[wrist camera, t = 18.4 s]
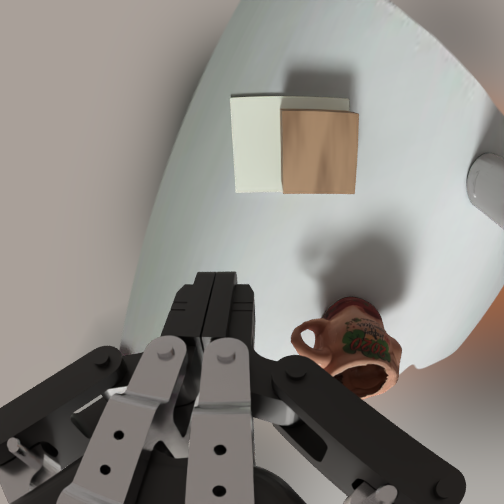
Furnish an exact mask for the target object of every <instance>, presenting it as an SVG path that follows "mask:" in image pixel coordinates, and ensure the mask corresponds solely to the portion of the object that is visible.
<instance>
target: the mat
mask: <svg viewBox="0 0 504 504" xmlns="http://www.w3.org/2000/svg"><path fill="white" fill-rule="evenodd" d="M230 104H231V121H232V138H233V155H234V171H235V187H236V193H248V192H283V189H282V183H281V142H280V109H326V110H344V111H349V99H346V98H331V97H308V96H260V97H237V98H230Z"/></svg>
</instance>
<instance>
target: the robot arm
mask: <svg viewBox="0 0 504 504" xmlns="http://www.w3.org/2000/svg"><path fill="white" fill-rule="evenodd" d="M467 193H468V197H469V199H470V201H471V203H472V204H473V205H474V206H475V207H476V208H478V209H479V210H480V211H482V212H483V213H484V214H485V215H487V216H488V217H489V218H490V219H491V220H493V221H494V222H495V223H496V224H498V225H499V226H500V227H501V228H503V229H504V158H502V157H500V156H498V155H495V154H492V153H486V154H483V155H481V156H480V157H479V158H477V160H476V161H475V162H474V163H473V165H472V167H471V169H470V171H469V174H468V179H467ZM254 339H255V304H254V292H253V290H252V289H251V287H250V285H249V284H237V274H236V272H198V273H197V275H196V278H195V281H194V284H193V285H191V284H185V285H184V286H183V287H182V288H181V289H180V290H179V291H178V292H177V293H176V296H175V299H174V301H173V304H172V306H171V311H170V312H169V314H168V317H167V320H166V323H165V325H164V328H163V331H162V333H161V336H160V337H158V338H156V339H154V340H152V341H151V342H150V343H149V344H148V345H147V347H146V348H145V351H144V352H142V353H138V354H132V355H126V356H122V355H121V353H120V351H119V350H118V349H117V348H115V347H112V346H102V347H99V348H96V349H94V350H93V351H91V352H89V353H88V354H86V355H85V356H83V357H81V358H80V359H78V360H77V361H75V362H73V363H72V364H70V365H69V366H67V367H65V368H64V369H62V370H61V371H59V372H57V373H56V374H54V375H53V376H51V377H49V378H48V379H46V380H45V381H43V382H41V383H40V384H38V385H37V386H35V387H33V388H32V389H30V390H28V391H27V392H25V393H24V394H22V395H21V396H19V397H17V398H16V399H14V400H12V401H11V402H9V403H8V404H6V405H4V406H3V407H1V408H0V484H1V487H2V489H3V492H4V494H5V496H6V498H7V501H8V503H9V504H306V503H305V502H304V501H303V499H301V497H299V495H298V494H297V493H296V492H295V491H294V490H293V489H292V488H291V487H290V486H289V485H288V484H287V483H286V482H285V481H284V480H283V479H281V478H280V477H279V476H277V475H275V474H274V473H272V472H270V471H268V470H266V469H264V468H261V467H258V466H256V459H255V443H254V423H253V417H255V418H258V419H261V420H264V421H268V422H271V423H272V424H273V426H274V427H275V428H276V429H277V430H278V431H279V432H280V434H282V436H284V438H285V439H286V440H287V441H288V442H289V443H290V444H291V445H292V446H294V447H295V448H296V449H297V450H298V451H299V452H300V453H301V454H302V455H303V456H304V457H305V458H306V459H307V460H308V461H309V462H310V463H311V464H312V465H313V466H314V467H315V468H317V469H318V470H319V471H320V472H321V473H322V474H323V475H324V476H325V477H326V478H328V479H329V480H330V481H331V482H332V483H333V484H334V485H335V486H337V487H338V488H339V489H340V490H342V492H344V493H345V494H346V495H347V496H348V497H347V498H346V499H345V501H344V503H343V504H460V502H461V501H462V499H463V497H464V494H465V491H466V482H465V478H464V476H463V474H462V473H461V472H460V471H459V470H458V469H456V468H455V467H453V466H452V465H451V464H449V463H448V462H446V461H445V460H443V459H442V458H440V457H439V456H438V455H436V454H435V453H433V452H432V451H431V450H429V449H428V448H426V447H425V446H423V445H422V444H421V443H419V442H418V441H417V440H415V439H414V438H412V437H411V436H409V435H408V434H407V433H406V432H404V431H403V430H402V429H400V428H399V427H398V426H396V425H395V424H394V423H392V422H391V421H390V420H388V419H387V418H386V417H384V416H383V415H381V414H380V413H379V412H378V411H376V410H375V409H374V408H372V407H371V406H370V405H368V404H367V403H366V402H364V401H363V400H362V399H361V398H359V397H358V396H357V395H356V394H354V393H353V392H352V391H351V390H349V389H348V388H347V387H345V386H344V385H343V384H342V383H340V382H339V381H338V380H337V379H335V378H334V377H333V376H332V375H330V374H329V373H328V372H327V371H325V370H324V369H323V368H322V367H320V366H319V365H318V364H317V363H316V362H314V361H313V360H312V359H310V358H308V357H305V356H301V355H290V356H286V357H284V358H282V359H280V360H279V361H273V360H269V359H266V358H264V357H262V356H260V355H259V354H257V353H256V352H255V350H254ZM99 395H102V396H103V397H102V398H101V399H99V400H98V401H96V402H95V403H93V404H92V405H90V406H89V407H87V408H86V409H84V410H82V411H81V412H79V413H73V412H75V411H76V410H78V409H79V408H81V407H82V406H84V405H85V404H87V403H89V402H90V401H92V400H93V399H94V398H96V397H98V396H99ZM189 440H190V443H189ZM65 467H66V468H65ZM63 468H64V469H63ZM62 469H63V470H62Z"/></svg>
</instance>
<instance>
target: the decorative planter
mask: <svg viewBox="0 0 504 504" xmlns="http://www.w3.org/2000/svg"><path fill="white" fill-rule="evenodd" d="M306 329H309V330H311V331H313V332H314V334H315V345H314V348H311V347H309V346H308V345H307V344H306V343H305V342H304V341H303V339H302V337H301V332H303V331H304V330H306ZM291 343H292V344H293V346H294V347H295V349H296V351H297V352H298V354H299V355H301V356H305V357H308V358H310V359H312V360H313V361H314V362H316V363H317V364H318V365H319V366H320V367H322V368H323V369H324V370H325V371H327V372H328V373H329V374H330V375H332V376H333V377H334V378H335V379H337V380H338V381H339V382H340V383H342V384H343V385H344V386H345V387H347V388H348V389H349V390H351V391H352V392H353V393H354V394H356V395H357V396H358V397H359V398H361V399H362V400H363V399H366V398H368V397H372V396H376V395H380V394H382V393H384V392H386V391H387V390H389V389H390V388H391V387H393V386H394V385H395V384H396V383H397V381H398V377H399V364H400V359H401V354H402V348H401V346H400V344H399V343H398V342H397V341H396V340H395V339H394V338H392V337H391V336H389V335H388V334H387V333H386V331H385V329H384V326H383V322H382V318H381V316H380V314H379V312H378V311H377V309H376V308H375V307H374V306H373V305H372V304H370V303H369V302H367V301H365V300H363V299H360V298H356V297H346V298H343V299H341V300H339V301H337V302H336V303H335V304H334V305H332V306H331V307H330V308H329V309H328V310H327V311H326V313H325V315H324V316H323V318H320V319H312V320H309V321H306V322H304V323H303V324H301V325H299V326H298V327H296V328H295V329H294V331H293V333H292V335H291Z"/></svg>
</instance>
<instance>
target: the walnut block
mask: <svg viewBox="0 0 504 504" xmlns="http://www.w3.org/2000/svg"><path fill="white" fill-rule="evenodd" d="M358 126H359V114H357V113H354V112H350V111H344V110H326V109H280V142H281V183H282V189H283V194H355V183H356V168H357V151H358Z"/></svg>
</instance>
